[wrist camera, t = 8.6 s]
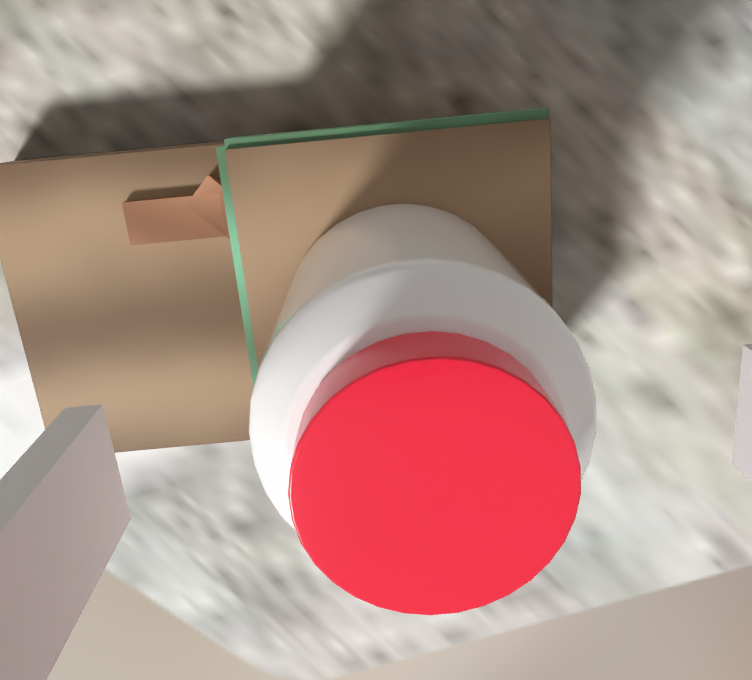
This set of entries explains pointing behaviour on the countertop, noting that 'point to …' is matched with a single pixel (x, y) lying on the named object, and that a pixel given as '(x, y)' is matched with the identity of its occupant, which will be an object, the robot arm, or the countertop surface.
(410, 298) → the pill bottle
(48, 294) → the stand
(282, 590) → the countertop surface
